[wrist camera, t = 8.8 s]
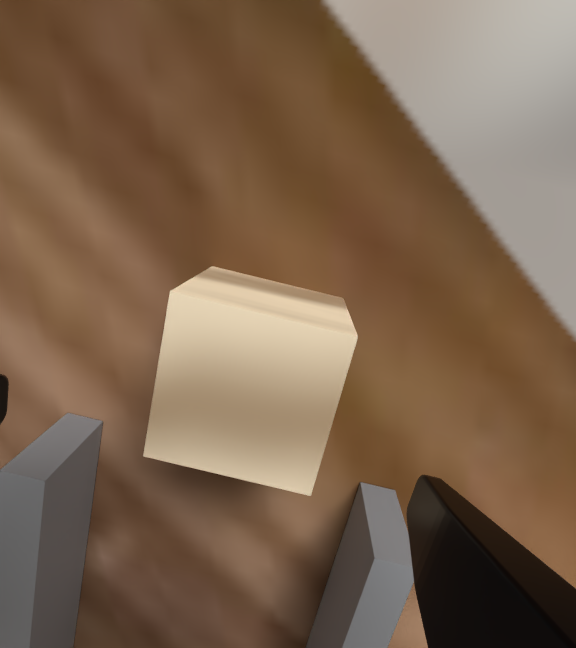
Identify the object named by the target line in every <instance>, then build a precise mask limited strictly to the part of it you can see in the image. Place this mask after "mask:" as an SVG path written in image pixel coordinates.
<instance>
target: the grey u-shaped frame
mask: <svg viewBox="0 0 576 648" xmlns="http://www.w3.org/2000/svg"><path fill="white" fill-rule="evenodd" d="M102 426H103V421H100V420H96V419H92V418H88V417H83V416H79V415H75V414H71V413H67V414H66V415H64V416H63V417H62V418H61V419H60V420H58V421H57V422H56V423H55V424H54V425H53V426H51V427H50V428H49V429H48V430H47V431H45V432H44V433H43V434H42V435H41V436H40V437H38V438H37V439H36V440H35V441H34V442H32V443H31V444H30V445H29V446H28V447H27V448H25V449H24V450H23V451H22V452H21V453H19V454H18V455H17V456H16V457H15V458H13V459H12V460H11V461H10V462H9V463H8V464H6V465H5V466H4V467H3V468H2V469H0V648H73V646H74V639H75V631H76V624H77V616H78V608H79V601H80V593H81V586H82V578H83V570H84V563H85V555H86V547H87V540H88V532H89V525H90V517H91V509H92V502H93V494H94V487H95V479H96V471H97V464H98V456H99V449H100V441H101V433H102ZM413 582H414V577H413V569H412V560H411V551H410V543H409V534H408V531H407V528H406V525H405V521H404V518H403V515H402V512H401V508H400V505H399V502H398V498H397V495H396V492H395V490H391V489H387V488H383V487H379V486H375V485H370V484H366V483H362V482H360V485H359V488H358V491H357V494H356V497H355V500H354V503H353V506H352V509H351V512H350V515H349V518H348V521H347V524H346V527H345V530H344V533H343V536H342V539H341V542H340V545H339V548H338V551H337V554H336V557H335V560H334V563H333V566H332V569H331V572H330V575H329V578H328V581H327V584H326V587H325V590H324V593H323V596H322V599H321V602H320V605H319V608H318V612H317V615H316V618H315V621H314V624H313V627H312V630H311V633H310V636H309V639H308V642H307V645H306V648H387V647H388V645H389V642H390V640H391V637H392V635H393V632H394V630H395V627H396V625H397V622H398V620H399V617H400V615H401V612H402V610H403V607H404V605H405V602H406V600H407V597H408V595H409V592H410V590H411V587H412V585H413Z"/></svg>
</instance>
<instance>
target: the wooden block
mask: <svg viewBox="0 0 576 648" xmlns="http://www.w3.org/2000/svg"><path fill="white" fill-rule="evenodd" d="M357 338H358V336H357V333H356V330H355V328H354V325H353V322H352V320H351V317H350V315H349V312H348V309H347V307H346V304H345V301H344V299H343V298H341V297H337V296H332V295H328V294H324V293H320V292H316V291H312V290H308V289H304V288H300V287H295V286H291V285H287V284H283V283H279V282H275V281H271V280H267V279H263V278H258V277H254V276H250V275H246V274H242V273H238V272H234V271H230V270H226V269H221V268H217V267H213V266H212V267H210V268H209V269H207V270H205V271H203V272H202V273H200V274H198V275H197V276H195V277H193V278H192V279H190V280H188V281H187V282H185V283H183V284H181V285H180V286H178V287H176V288H175V289H173V290H171V291H170V295H169V301H168V307H167V313H166V319H165V325H164V331H163V338H162V344H161V350H160V356H159V362H158V368H157V374H156V380H155V387H154V393H153V399H152V405H151V411H150V417H149V423H148V429H147V435H146V442H145V448H144V454H143V456H144V457H148V458H152V459H156V460H161V461H165V462H169V463H173V464H178V465H182V466H186V467H190V468H194V469H199V470H203V471H207V472H211V473H216V474H220V475H224V476H228V477H233V478H237V479H241V480H245V481H250V482H254V483H258V484H262V485H266V486H271V487H275V488H279V489H283V490H288V491H292V492H296V493H300V494H305V495H309V496H311V493H312V490H313V487H314V483H315V480H316V477H317V473H318V470H319V466H320V463H321V460H322V456H323V453H324V450H325V446H326V443H327V439H328V436H329V433H330V429H331V426H332V423H333V419H334V416H335V412H336V409H337V406H338V402H339V399H340V396H341V392H342V389H343V385H344V382H345V379H346V375H347V372H348V369H349V365H350V362H351V358H352V355H353V352H354V348H355V345H356V341H357Z"/></svg>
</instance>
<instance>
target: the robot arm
mask: <svg viewBox="0 0 576 648" xmlns="http://www.w3.org/2000/svg"><path fill="white" fill-rule="evenodd" d="M8 386H9V382H8V378H7V377H6V376H5V375H2V374H0V424H1V423H2V421H3V420H4V418H5V416H6V412H7V402H8ZM407 525H408V534H409V543H410V551H411V560H412V569H413V577H414V584H415V590H416V595H417V600H418V604H419V609H420V613H421V618H422V622H423V627H424V631H425V636H426V640H427V645H428V648H576V589H575V588H574V587H573V586H572V585H570V584H569V583H568V582H567V581H566V580H564V579H563V578H562V577H561V576H559V575H558V574H557V573H556V572H555V571H553V570H552V569H551V568H550V567H548V566H547V565H546V564H545V563H543V562H542V561H541V560H540V559H539V558H537V557H536V556H535V555H534V554H532V553H531V552H530V551H529V550H528V549H526V548H525V547H524V546H523V545H521V544H520V543H519V542H518V541H516V540H515V539H514V538H513V537H512V536H510V535H509V534H508V533H507V532H505V531H504V530H503V529H502V528H500V527H499V526H498V525H497V524H496V523H494V522H493V521H492V520H491V519H489V518H488V517H487V516H486V515H485V514H483V513H482V512H481V511H480V510H478V509H477V508H476V507H475V506H473V505H472V504H471V503H470V502H469V501H467V500H466V499H465V498H464V497H462V496H461V495H460V494H459V493H458V492H456V491H455V490H454V489H453V488H451V487H450V486H449V485H448V484H446V483H445V482H444V481H443V480H441V479H440V478H436V477H432V476H428V475H421V476H420V477H419V478H418V480H417V483H416V485H415V488H414V491H413V493H412V496H411V499H410V501H409V504H408V507H407Z"/></svg>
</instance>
